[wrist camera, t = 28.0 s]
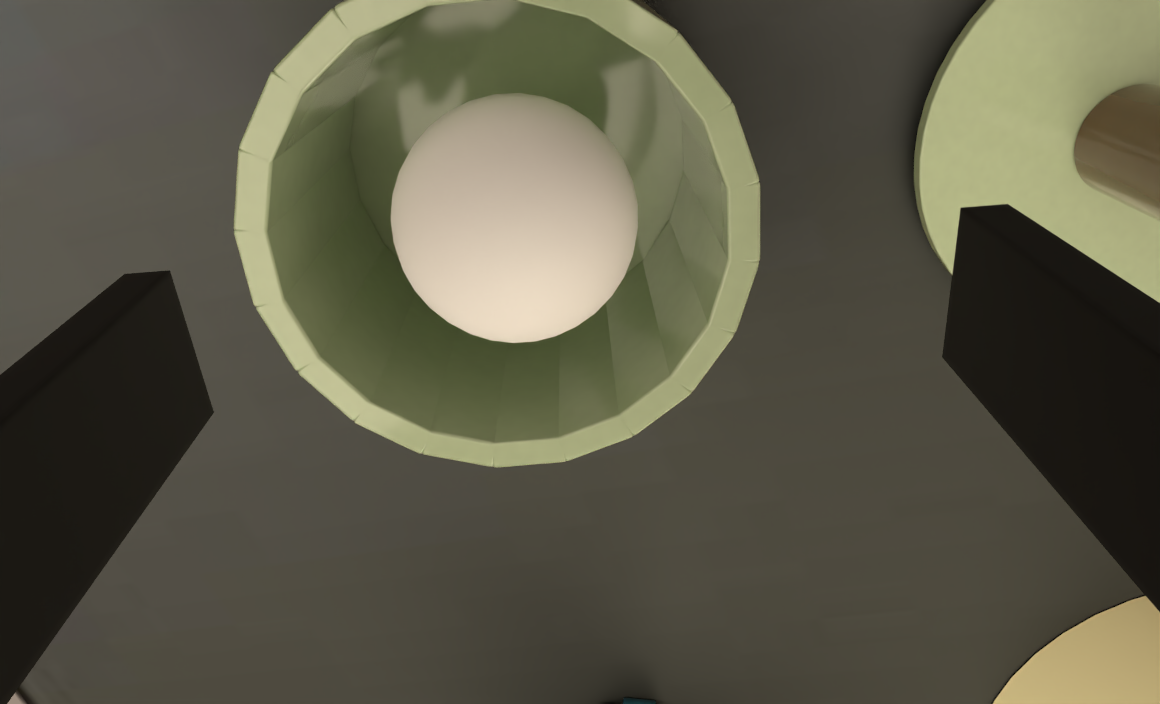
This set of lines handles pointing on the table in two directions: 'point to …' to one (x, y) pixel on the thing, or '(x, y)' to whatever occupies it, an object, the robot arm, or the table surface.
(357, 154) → the canister
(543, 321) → the lightbulb
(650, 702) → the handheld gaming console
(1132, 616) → the cone light
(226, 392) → the table surface
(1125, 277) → the canister lid
